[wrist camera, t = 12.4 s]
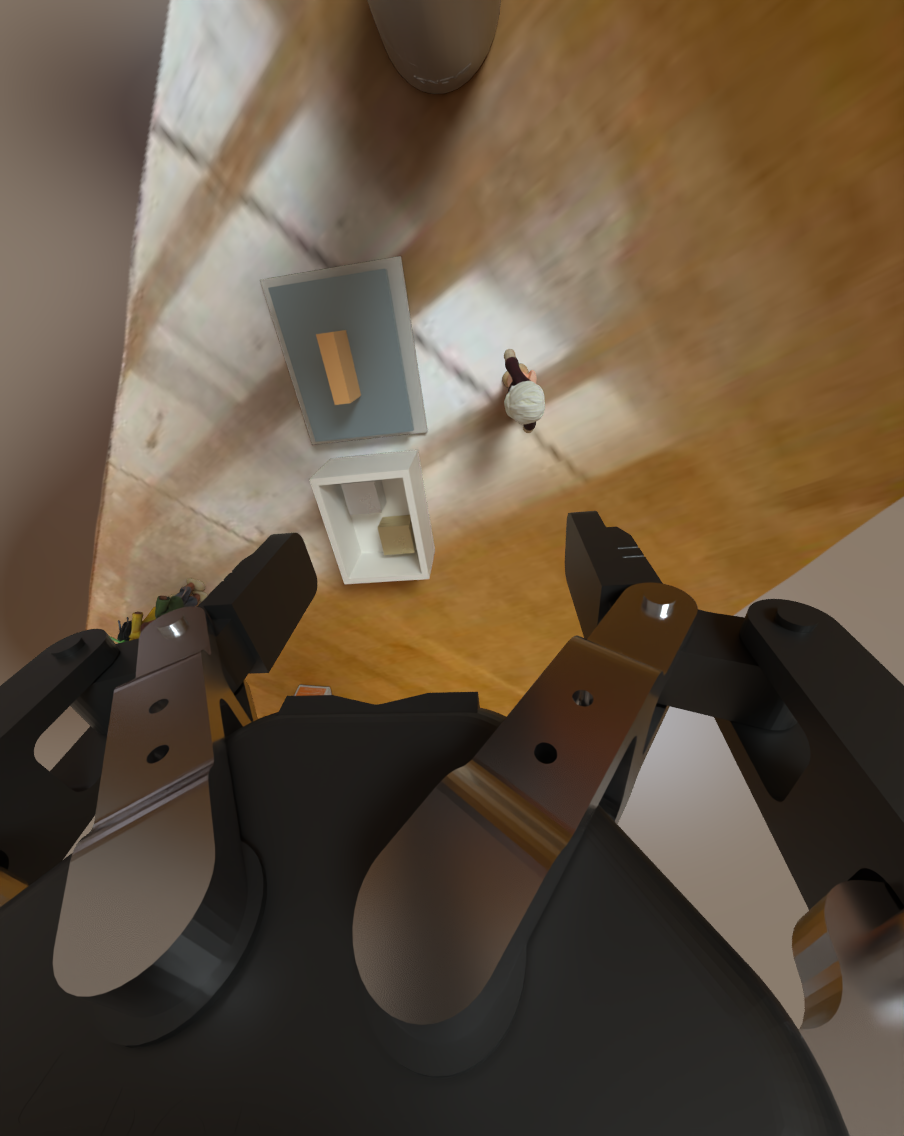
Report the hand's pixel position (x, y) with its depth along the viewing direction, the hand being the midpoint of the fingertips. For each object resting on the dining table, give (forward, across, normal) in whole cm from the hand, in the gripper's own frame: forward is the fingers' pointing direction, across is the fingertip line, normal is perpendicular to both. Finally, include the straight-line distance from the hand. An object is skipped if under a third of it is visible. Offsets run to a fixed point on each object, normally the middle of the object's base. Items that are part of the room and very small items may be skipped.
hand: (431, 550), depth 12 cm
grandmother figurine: (+36, -5, +1) cm, 37 cm away
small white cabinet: (+36, +12, +14) cm, 41 cm away
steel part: (+35, +14, +11) cm, 39 cm away
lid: (+36, +12, -3) cm, 38 cm away
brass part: (+35, +11, +17) cm, 41 cm away
